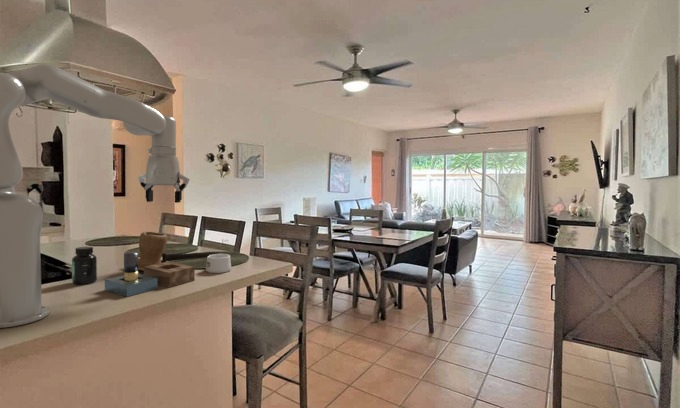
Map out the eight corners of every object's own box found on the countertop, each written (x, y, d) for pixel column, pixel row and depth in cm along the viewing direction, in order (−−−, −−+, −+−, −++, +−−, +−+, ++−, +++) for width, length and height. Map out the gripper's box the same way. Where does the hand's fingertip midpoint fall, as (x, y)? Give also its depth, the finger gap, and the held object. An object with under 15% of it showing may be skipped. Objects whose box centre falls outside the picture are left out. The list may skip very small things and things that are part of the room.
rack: (169, 287, 118) (169, 272, 118) (143, 280, 125) (143, 266, 124) (194, 280, 127) (194, 266, 126) (169, 274, 133) (169, 261, 133)
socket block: (126, 296, 108) (126, 285, 107) (104, 290, 113) (104, 279, 113) (157, 288, 116) (157, 278, 116) (135, 282, 122) (135, 272, 122)
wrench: (220, 261, 166) (153, 266, 144) (214, 259, 169) (148, 265, 147) (220, 249, 166) (153, 253, 144) (215, 248, 170) (148, 252, 147)
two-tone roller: (128, 292, 112) (128, 254, 111) (121, 289, 114) (121, 253, 113) (141, 288, 116) (140, 252, 115) (133, 286, 118) (133, 251, 117)
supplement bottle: (69, 286, 116) (69, 250, 115) (75, 280, 122) (74, 246, 122) (94, 284, 119) (94, 249, 118) (98, 278, 125) (98, 245, 125)
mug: (235, 271, 142) (235, 256, 141) (212, 275, 135) (212, 259, 134) (221, 265, 150) (221, 251, 150) (198, 269, 143) (198, 254, 143)
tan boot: (173, 269, 142) (173, 232, 141) (143, 275, 132) (143, 235, 131) (152, 263, 150) (152, 228, 149) (123, 268, 140) (122, 231, 139)
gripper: (132, 150, 118) (132, 201, 119) (184, 152, 119) (184, 203, 120) (144, 152, 126) (144, 200, 127) (193, 154, 126) (193, 202, 127)
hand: (163, 202), depth 123 cm, fingers open, 9 cm apart
